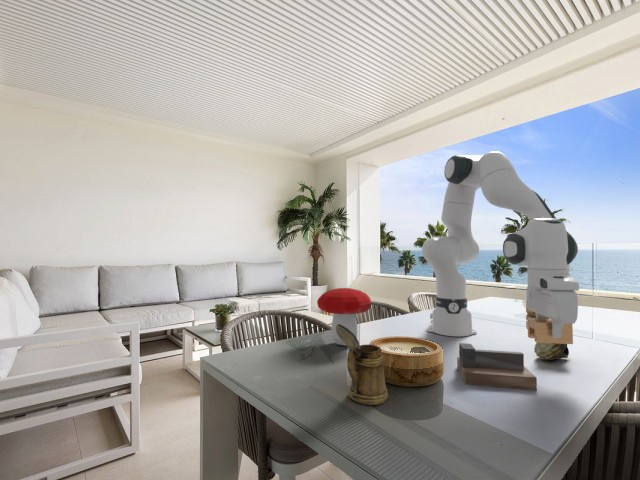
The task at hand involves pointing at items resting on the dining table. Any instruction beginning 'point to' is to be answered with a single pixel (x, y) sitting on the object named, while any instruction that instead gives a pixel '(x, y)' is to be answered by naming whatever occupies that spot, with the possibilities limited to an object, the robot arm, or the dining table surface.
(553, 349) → the seashell
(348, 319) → the mushroom
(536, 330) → the slotted cardboard block
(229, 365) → the dining table surface
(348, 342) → the wooden mug
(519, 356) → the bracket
